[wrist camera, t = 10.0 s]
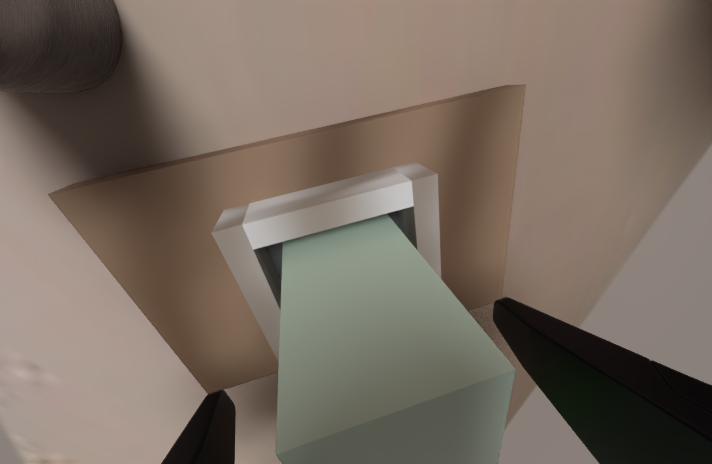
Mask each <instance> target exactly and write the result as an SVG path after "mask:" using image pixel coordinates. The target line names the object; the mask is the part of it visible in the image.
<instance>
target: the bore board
mask: <svg viewBox="0 0 712 464" xmlns="http://www.w3.org/2000/svg"><path fill="white" fill-rule="evenodd" d="M525 88H526V85H505V86H501V87H496V88H492V89H487V90H483V91H479V92H474V93H470V94H466V95H461V96H457V97H452V98H448V99H444V100H439V101H435V102H430V103H426V104H422V105H417V106H413V107H409V108H404V109H400V110H395V111H391V112H387V113H382V114H378V115H373V116H369V117H365V118H360V119H356V120H351V121H347V122H343V123H338V124H334V125H330V126H325V127H321V128H316V129H312V130H308V131H303V132H299V133H294V134H290V135H286V136H281V137H277V138H273V139H268V140H264V141H259V142H255V143H251V144H246V145H242V146H237V147H233V148H229V149H224V150H220V151H216V152H211V153H207V154H202V155H198V156H194V157H189V158H185V159H180V160H176V161H172V162H167V163H163V164H158V165H154V166H150V167H145V168H141V169H137V170H132V171H128V172H123V173H119V174H115V175H110V176H106V177H101V178H97V179H93V180H88V181H84V182H80V183H75V184H72V185H69V186H67V187H65V188H62V189H60V190H57V191H55V192H53V193H50V194H48V195H49V196H50V198H51V199H52V200H53V201H54V203H55V204H56V205H57V206H58V208H59V209H60V210H61V211H62V213H63V214H64V215H65V216H66V218H67V219H68V220H69V221H70V223H71V224H72V225H73V226H74V228H75V229H76V230H77V231H78V233H79V234H80V235H81V236H82V238H83V239H84V240H85V241H86V243H87V244H88V245H89V246H90V248H91V249H92V250H93V251H94V253H95V254H96V255H97V256H98V258H99V259H100V260H101V261H102V263H103V264H104V265H105V266H106V268H107V269H108V270H109V271H110V273H111V274H112V275H113V276H114V277H115V279H116V280H117V281H118V282H119V284H120V285H121V286H122V287H123V289H124V290H125V291H126V292H127V294H128V295H129V296H130V297H131V299H132V300H133V301H134V302H135V304H136V305H137V306H138V307H139V309H140V310H141V311H142V312H143V314H144V315H145V316H146V317H147V319H148V320H149V321H150V322H151V324H152V325H153V326H154V327H155V329H156V330H157V331H158V332H159V334H160V335H161V336H162V337H163V339H164V340H165V341H166V342H167V344H168V345H169V346H170V347H171V349H172V350H173V351H174V352H175V354H176V355H177V356H178V357H179V358H180V360H181V361H182V362H183V363H184V365H185V366H186V367H187V368H188V370H189V371H190V372H191V373H192V375H193V376H194V377H195V378H196V380H197V381H198V382H199V383H200V385H201V386H202V387H203V388H204V390H205V391H206V392H207V393H208V394H210V393H212V392H215V391H218V390H224V389H227V388H231V387H234V386H237V385H240V384H243V383H246V382H249V381H252V380H255V379H258V378H261V377H265V376H268V375H271V374H274V373H277V372H278V370H279V340H280V311H281V281H282V251H283V241H287V240H291V239H294V238H298V237H302V236H305V235H309V234H313V233H317V232H320V231H324V230H328V229H331V228H335V227H339V226H342V225H346V224H350V223H353V222H357V221H361V220H364V219H368V218H372V217H376V216H379V215H383V214H388V216H389V217H390V218H391V219H392V220H393V222H394V223H395V224H396V225H397V226H398V228H399V229H400V230H401V231H402V232H403V234H404V235H405V236H406V237H407V239H408V240H409V241H410V242H411V243H412V245H413V246H414V247H415V248H416V249H417V251H418V252H419V253H420V254H421V255H422V257H423V258H424V259H425V260H426V261H427V263H428V264H429V265H430V266H431V268H432V269H433V270H434V271H435V272H436V274H437V275H438V276H439V277H440V278H441V280H442V281H443V282H444V283H445V284H446V286H447V287H448V288H449V289H450V290H451V292H452V293H453V294H454V295H455V297H456V298H457V299H458V300H459V301H460V303H461V304H462V305H463V306H464V307H465V309H466V310H467V311H468V310H471V309H475V308H478V307H481V306H484V305H487V304H490V303H493V302H495V301H496V300H498V299H501V298H502V289H503V280H504V271H505V263H506V254H507V245H508V236H509V228H510V219H511V210H512V201H513V193H514V184H515V175H516V166H517V158H518V149H519V140H520V132H521V123H522V114H523V105H524V97H525Z"/></svg>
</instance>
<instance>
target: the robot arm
mask: <svg viewBox="0 0 712 464" xmlns="http://www.w3.org/2000/svg"><path fill="white" fill-rule="evenodd" d="M493 320H494V323H495V325H496V326H497V328H498V329H499V331H500V333H501V334H502V336H503V337H504V339H505V340H506V342H507V343H508V345H509V346H510V348H511V350H512V351H513V353H514V354H515V356H516V357H517V359H518V360H519V362H520V363H521V365H522V366H523V367H524V369H525V370H526V371H527V373H528V374H529V375H530V376H531V378H532V379H533V380H534V382H535V383H536V384H537V385H538V387H539V388H540V389H541V390H542V392H543V393H544V394H545V395H546V397H547V398H548V399H549V400H550V402H551V403H552V404H553V406H554V407H555V408H556V409H557V411H558V412H559V413H560V414H561V416H562V417H563V418H564V419H565V421H566V422H567V423H568V425H569V426H570V427H571V428H572V430H573V431H574V432H575V433H576V435H577V436H578V437H579V438H580V440H581V441H582V442H583V443H584V444H585V446H586V447H587V449H588V450H589V451H590V452H591V454H592V455H593V456H594V457H595V459H596V460H597V461H598V462H599V464H712V385H710V384H707V383H704V382H702V381H700V380H697V379H695V378H692V377H690V376H688V375H685V374H683V373H681V372H678V371H676V370H673V369H671V368H669V367H666V366H664V365H662V364H660V363H657V362H655V361H650V360H649V359H648V358H646V357H643V356H641V355H639V354H636V353H634V352H632V351H630V350H627V349H625V348H623V347H621V346H618V345H616V344H613V343H611V342H609V341H607V340H604V339H602V338H600V337H598V336H595V335H593V334H591V333H588V332H586V331H584V330H582V329H579V328H577V327H575V326H572V325H570V324H568V323H566V322H563V321H561V320H559V319H556V318H554V317H552V316H550V315H547V314H545V313H543V312H540V311H538V310H536V309H534V308H531V307H529V306H527V305H524V304H522V303H520V302H517V301H515V300H513V299H511V298H507V297H505V298H501V299H498V300H496V301H495V302H494V310H493ZM235 416H236V410H235V405H234V403H233V402H232V400H231V399H230V398H229V396H228V395H227V394H226V392H225V391H224V390H218V391H215V392H212V393H210V394H208V395H207V396H206V397H205V399H204V400H203V402H202V403H201V405H200V406H199V408H198V409H197V411H196V412H195V414H194V415H193V417H192V418H191V420H190V421H189V423H188V424H187V426H186V427H185V429H184V430H183V432H182V433H181V435H180V436H179V438H178V439H177V441H176V442H175V444H174V445H173V447H172V448H171V450H170V451H169V453H168V454H167V456H166V457H165V459H164V460H163V462H162V463H161V464H235Z"/></svg>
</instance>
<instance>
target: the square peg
mask: <svg viewBox="0 0 712 464" xmlns="http://www.w3.org/2000/svg"><path fill="white" fill-rule="evenodd" d="M515 370H516V369H515V368H514V367H513V365H512V364H511V363H510V362H509V361H508V359H507V358H506V357H505V356H504V355H503V353H502V352H501V351H500V350H499V348H498V347H497V346H496V345H495V344H494V342H493V341H492V340H491V339H490V338H489V336H488V335H487V334H486V333H485V332H484V330H483V329H482V328H481V327H480V326H479V324H478V323H477V322H476V321H475V319H474V318H473V317H472V316H471V315H470V313H469V312H468V311H467V310H466V309H465V307H464V306H463V305H462V304H461V303H460V301H459V300H458V299H457V298H456V297H455V295H454V294H453V293H452V292H451V290H450V289H449V288H448V287H447V286H446V284H445V283H444V282H443V281H442V280H441V278H440V277H439V276H438V275H437V274H436V272H435V271H434V270H433V269H432V268H431V266H430V265H429V264H428V263H427V261H426V260H425V259H424V258H423V257H422V255H421V254H420V253H419V252H418V251H417V249H416V248H415V247H414V246H413V245H412V243H411V242H410V241H409V240H408V239H407V237H406V236H405V235H404V234H403V232H402V231H401V230H400V229H399V228H398V226H397V225H396V224H395V223H394V222H393V220H392V219H391V218H390V217H389V216H388V214H383V215H379V216H376V217H372V218H368V219H364V220H361V221H357V222H353V223H350V224H346V225H342V226H339V227H335V228H331V229H328V230H324V231H320V232H317V233H313V234H309V235H305V236H302V237H298V238H294V239H291V240H287V241H283V251H282V281H281V311H280V340H279V370H278V400H277V430H276V455H277V457H278V458H279V460H280V461H281V462H282V464H498V460H499V455H500V450H501V444H502V439H503V434H504V428H505V423H506V418H507V413H508V407H509V402H510V397H511V391H512V386H513V381H514V375H515Z"/></svg>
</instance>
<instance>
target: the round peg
mask: <svg viewBox="0 0 712 464" xmlns="http://www.w3.org/2000/svg"><path fill="white" fill-rule="evenodd" d="M121 44H122V37H121V27H120V21H119V17H118V13H117V10H116V7H115V4H114V2H113V0H0V92H58V93H68V92H79V91H83V90H87V89H90V88H92V87H95V86H97V85H98V84H100V83H102V82H103V81H104V80H105V79H106V78H107V77H109V75H110V74H111V73H112V71H113V70H114V68H115V66H116V64H117V62H118V59H119V56H120V52H121Z"/></svg>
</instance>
